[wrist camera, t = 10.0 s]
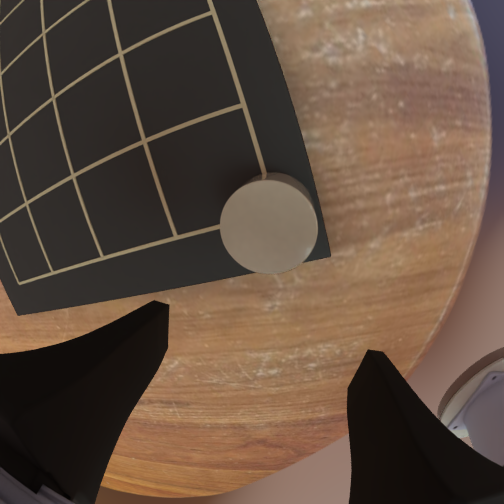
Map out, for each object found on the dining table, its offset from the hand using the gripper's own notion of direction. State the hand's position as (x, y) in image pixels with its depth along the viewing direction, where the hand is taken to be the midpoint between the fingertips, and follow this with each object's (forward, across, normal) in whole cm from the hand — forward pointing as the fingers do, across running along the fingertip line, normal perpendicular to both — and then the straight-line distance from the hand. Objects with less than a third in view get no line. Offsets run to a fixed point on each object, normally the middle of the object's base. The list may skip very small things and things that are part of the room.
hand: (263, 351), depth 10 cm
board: (+9, +20, -12) cm, 25 cm away
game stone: (+8, +1, -3) cm, 8 cm away
